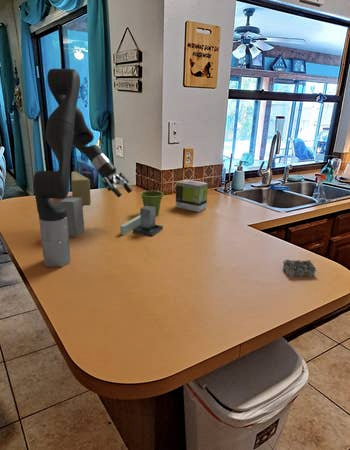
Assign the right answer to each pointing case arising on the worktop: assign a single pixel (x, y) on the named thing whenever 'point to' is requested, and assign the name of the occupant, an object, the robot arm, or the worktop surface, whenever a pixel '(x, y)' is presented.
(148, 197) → the plant pot
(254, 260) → the worktop surface
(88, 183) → the cheese
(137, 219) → the door edge
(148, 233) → the frame
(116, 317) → the worktop surface
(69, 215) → the skincare box
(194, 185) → the tea box
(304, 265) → the egg carton
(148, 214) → the block
